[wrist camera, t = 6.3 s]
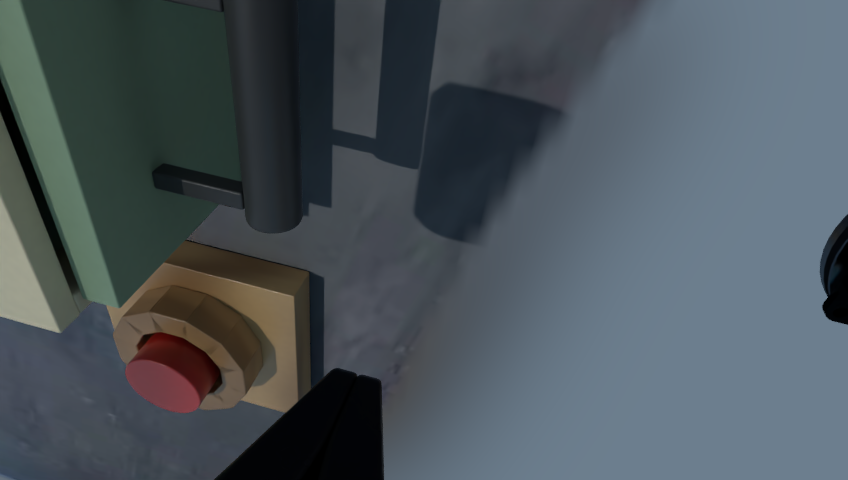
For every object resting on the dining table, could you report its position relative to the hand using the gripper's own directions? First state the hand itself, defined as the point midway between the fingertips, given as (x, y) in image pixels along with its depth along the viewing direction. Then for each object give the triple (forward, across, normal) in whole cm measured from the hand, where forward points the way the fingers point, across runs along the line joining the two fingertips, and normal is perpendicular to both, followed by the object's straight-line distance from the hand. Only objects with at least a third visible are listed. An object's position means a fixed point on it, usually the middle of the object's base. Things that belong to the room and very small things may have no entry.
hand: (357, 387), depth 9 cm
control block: (+12, +11, +14) cm, 21 cm away
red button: (+9, +11, +14) cm, 20 cm away
